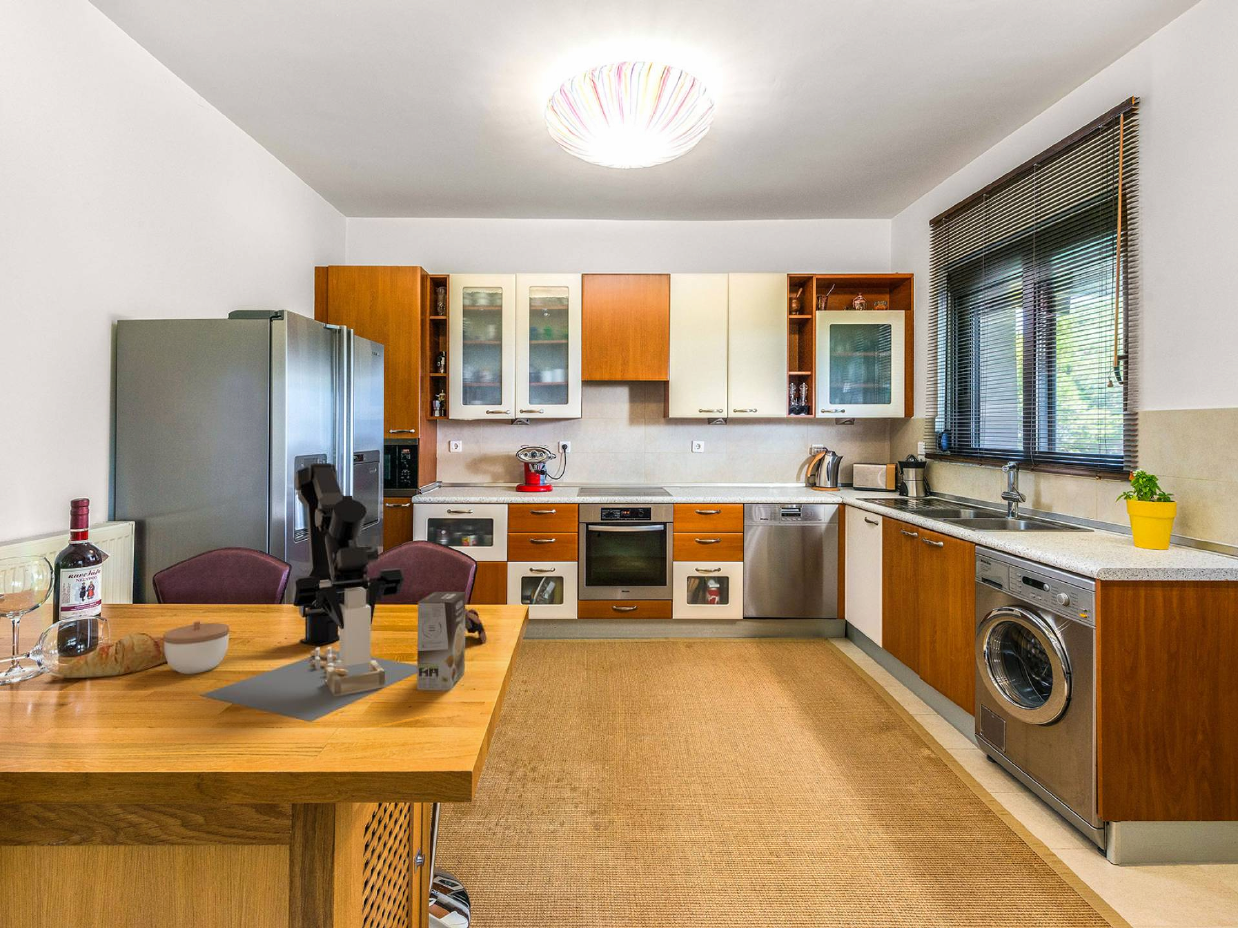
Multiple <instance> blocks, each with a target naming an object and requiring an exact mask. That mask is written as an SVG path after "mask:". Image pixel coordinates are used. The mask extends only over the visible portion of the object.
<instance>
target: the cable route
mask: <svg viewBox="0 0 1238 928" xmlns="http://www.w3.org/2000/svg"><path fill="white" fill-rule="evenodd" d="M332 650H333V649H332V646H328V647H327V648H326V651H327V653H323V652H321V647H319V646H318V647H315V650H311V651H310V652H309V657H311V656H314V657H315V660H312V661H311V665H314V666H315V668H316V669H317V670H318V669H320V667H325V668H324V671H325V672H326V675H327V668H330V667H333V668H334V670H335V671H336V673H337V674H340V675H345V676H346V675H347V674H348V670H345V666H344V665H343V664H342V662H341V661H340V660H338V661H336V664H334V663H333V660H336V659H337V655H332ZM320 658H325V659H327V662H323V661H320Z"/></svg>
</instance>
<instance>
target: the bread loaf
mask: <svg viewBox="0 0 1238 928" xmlns="http://www.w3.org/2000/svg"><path fill="white" fill-rule="evenodd" d="M165 663H168V662H167V660H166V657H165V652H164V640H163V636H162V637H161V636H154V637H153V636H151V635H149V634H148V633H142V632H132V633H129V634H128V635H127V636H124V637H122V638H119V640H118V641H116V642H115V643H109V644H105V645H101V646H99V647H98V648H97V649H95V650H94V651H91V652H89V653H87V654H83V655H80V656H78V657H76V658H75V659H73V660H71V661H70V662H69V663H67V664H64V665H60V666H59V667H58V668H57V670H56V672H57V674H58V676H60V677H62V678H68V679H81V678H82V679H85V678H99V677H114V676H121V675H125V674H126V675H127V674H128V673H135V672H140V671H144V670H147V669H150V668H153V667H156V666H159V665H162V664H165Z"/></svg>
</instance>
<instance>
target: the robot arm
mask: <svg viewBox="0 0 1238 928" xmlns="http://www.w3.org/2000/svg"><path fill="white" fill-rule="evenodd" d="M293 483H294V490H295V491H297V499H298V501H299V502H300V503H301V504H302V505H303V507H304V509H306V522H307V536H308V551H309V569H310V572H309V574H308V576H299V577H298V576H297V578H296V579H295V580H294V582H293V589H292V597H291V598H292V606H294V607H298V614H299V615H300V617H301V618H305V623H304V625H305V626H304V627H305V630H304V631H305V633H304V638H301V639H299V640H298V642H299V643H302V644H309V645H314V646H318V647H319V646H323V645H326V644H329V643H333V642H335V641H338V640H339V641H340V634H339V630H340V629H343V628H344V621H343V616H342V612H341V609H340V605H343V604H345V589H347V588H356V587H363V588H364V589H365V590H366V603H367V604H368V605H369V606H370V607H371V625H372V624H373V620H374V619H373V618H374V613H375V607H376V602H379V601H381V600H382V598H383V597H394V596H397V595H399V594H400V591H401V589H402V587H403V583H404V580H405V575H404V572H403V570H402V569H401V568H399V567H397V568H385V569H380V570H379V574H378V576H377V577H365V575H367V574H368V572H369V570H368V565H369V564H370V563H376V562H377V561H378V560H379V557H380V556H379V548H378V545H377V543H375V542H374V543H366V545H364V546H359V541H358V538H360V536H361V533H362V530H363V527H364V523H365V520H366V515H367V508H366V506H365V505H364V504H363V503H362V502H360V501H358V500H356V499H354V498H353V495H344V494H343V493H342V490H341V487H340V485H339V482H338V470H337V469H336V467H335V464H333V463H331V462H329V463H328V462H327V463H326V462H316V463H315V462H314V463H312V464H309V465H308V466H306V467H304V468H301V469H298V470H296V473H295V475H294V480H293Z"/></svg>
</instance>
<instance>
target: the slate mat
mask: <svg viewBox="0 0 1238 928" xmlns="http://www.w3.org/2000/svg"><path fill="white" fill-rule="evenodd" d="M322 653H327V650H326V651H324V652H322ZM332 655H337V659H336V660H333V663H334V664H336V661H338V660H339V659H340V650H339V651H338V650H333V649H332ZM312 660H315V657H314V656H309V657H306V658H302V659H299V660H297V661H295V662H292V663H289V664H285V665H282V666H280V667H277V668H274V669H271V670H268V671H265V672H263V673H262V672H261V673H259V674H257V675H254V676H252V677H249V678H246V679H243V680H239V681H237V682H234V683H231V684H228V685H225V686H223V687H219V688H217V689H214V690H211V691H208V692H205V693H203V694H199V696H200V697H203V698H208V699H213V700H217V701H221V702H225V703H230V704H233V705H236V706H237V705H238V706H241V707H246V708H252V709H255V710H258V711H263V712H269V713H273V714H276V715H281V716H284V717H285V716H286V717H289V718H293V719H298V720H302V721H306V722H309V723H310V722H314V721H316V720H318V719H320V718H322V717H325V716H327V715H329V714H330V713H332V712H333V713H334V711H337V710H340V709H341V708H344V707H346V706H348V705H351V704H353V703H354V702H357V701H359V700H361V699H364V698H365V697H368V696H370V695H373V694H375V693H376V692H379V691H381V690H383V689H385V688H387V687H390V686H392V685H394V684H396V683H398V682H400V681H403V680H405V679H407V678H409V677H411V676H414V675H417V664H413V663H409V662H408V663H407V662H401V661H397V660H390V659H386V658H385V659H384V658H378V657H373V656H371V661H372V660H375V661H376V662H377V663H378V664H379V665H380V666H381V667H382V669H383V670H384V671H385V687H382V688H376V689H371V690H366V691H361V692H355V693H350V694H345V695H339V696H334V694H333V693H332V691H331V690H330V688H329V686H328V685H327V683H326V680H327V675H326V672H325V671H324V668H325V667H320V669H318V670H317V669H316V668H315V666H314V665H311V661H312ZM320 661H323V662H327V659H325V658H320ZM345 670H348V674H347V675H346V676H351V675H356V674H362V673H368V672H369V662H368V663H362V664H356V665H350V666H345ZM338 676H339V677H345V675H340V674H338Z"/></svg>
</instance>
